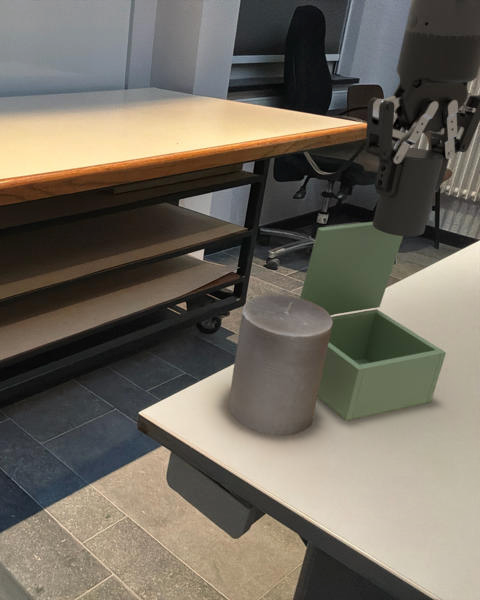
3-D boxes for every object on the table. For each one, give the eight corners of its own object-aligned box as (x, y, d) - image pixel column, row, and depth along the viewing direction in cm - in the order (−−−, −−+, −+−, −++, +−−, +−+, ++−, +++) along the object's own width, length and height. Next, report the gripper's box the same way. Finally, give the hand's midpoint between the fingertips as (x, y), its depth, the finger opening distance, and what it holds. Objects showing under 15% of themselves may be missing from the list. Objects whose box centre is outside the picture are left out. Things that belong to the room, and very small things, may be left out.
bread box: (429, 407, 82) (446, 352, 79) (344, 426, 79) (358, 369, 75) (364, 359, 92) (376, 308, 89) (286, 374, 88) (295, 322, 85)
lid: (408, 220, 82) (384, 207, 85) (322, 230, 78) (300, 215, 81) (379, 307, 88) (358, 291, 92) (298, 320, 84) (279, 303, 88)
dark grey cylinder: (399, 217, 80) (417, 145, 76) (435, 233, 75) (455, 157, 71) (362, 222, 78) (378, 148, 74) (396, 238, 73) (415, 161, 70)
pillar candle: (283, 387, 85) (303, 280, 79) (328, 434, 77) (355, 318, 70) (212, 398, 83) (227, 288, 76) (251, 447, 75) (272, 329, 68)
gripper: (418, 33, 62) (378, 209, 69) (534, 31, 66) (484, 197, 74) (362, 26, 68) (331, 188, 76) (471, 24, 72) (431, 178, 80)
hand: (407, 191), depth 75 cm, fingers closed on dark grey cylinder, 5 cm apart
